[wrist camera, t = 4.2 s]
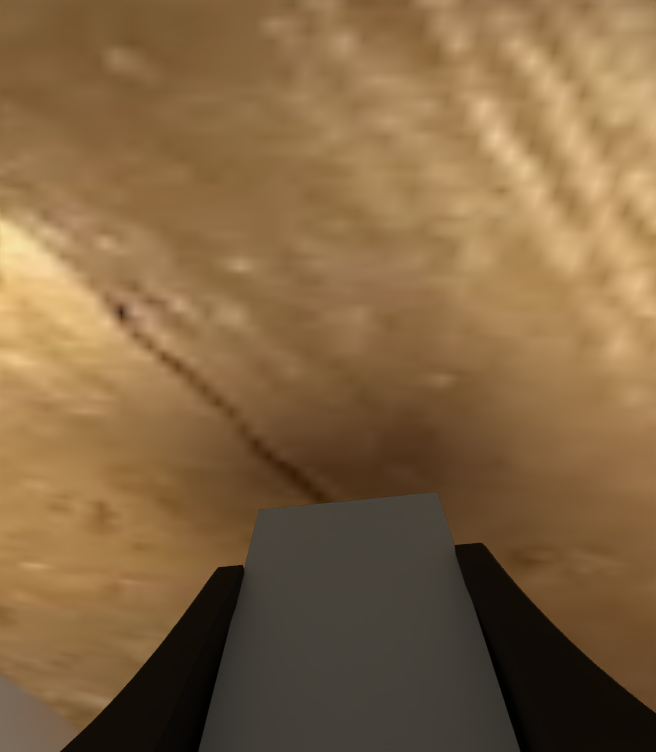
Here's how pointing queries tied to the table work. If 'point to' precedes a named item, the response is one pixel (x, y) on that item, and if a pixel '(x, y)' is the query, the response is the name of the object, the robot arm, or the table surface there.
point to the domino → (356, 638)
